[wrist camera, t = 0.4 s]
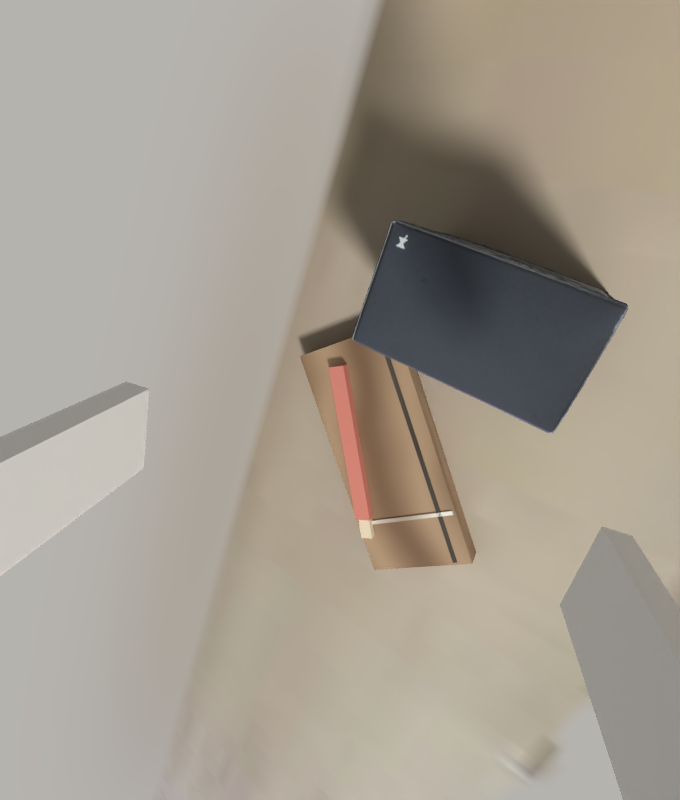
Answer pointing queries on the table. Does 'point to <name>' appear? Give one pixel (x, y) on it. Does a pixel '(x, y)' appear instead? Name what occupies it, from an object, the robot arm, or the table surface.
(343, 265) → the table surface
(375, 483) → the wooden board
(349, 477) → the carpenter pencil
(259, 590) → the table surface
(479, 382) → the small box
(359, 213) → the table surface
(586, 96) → the table surface
